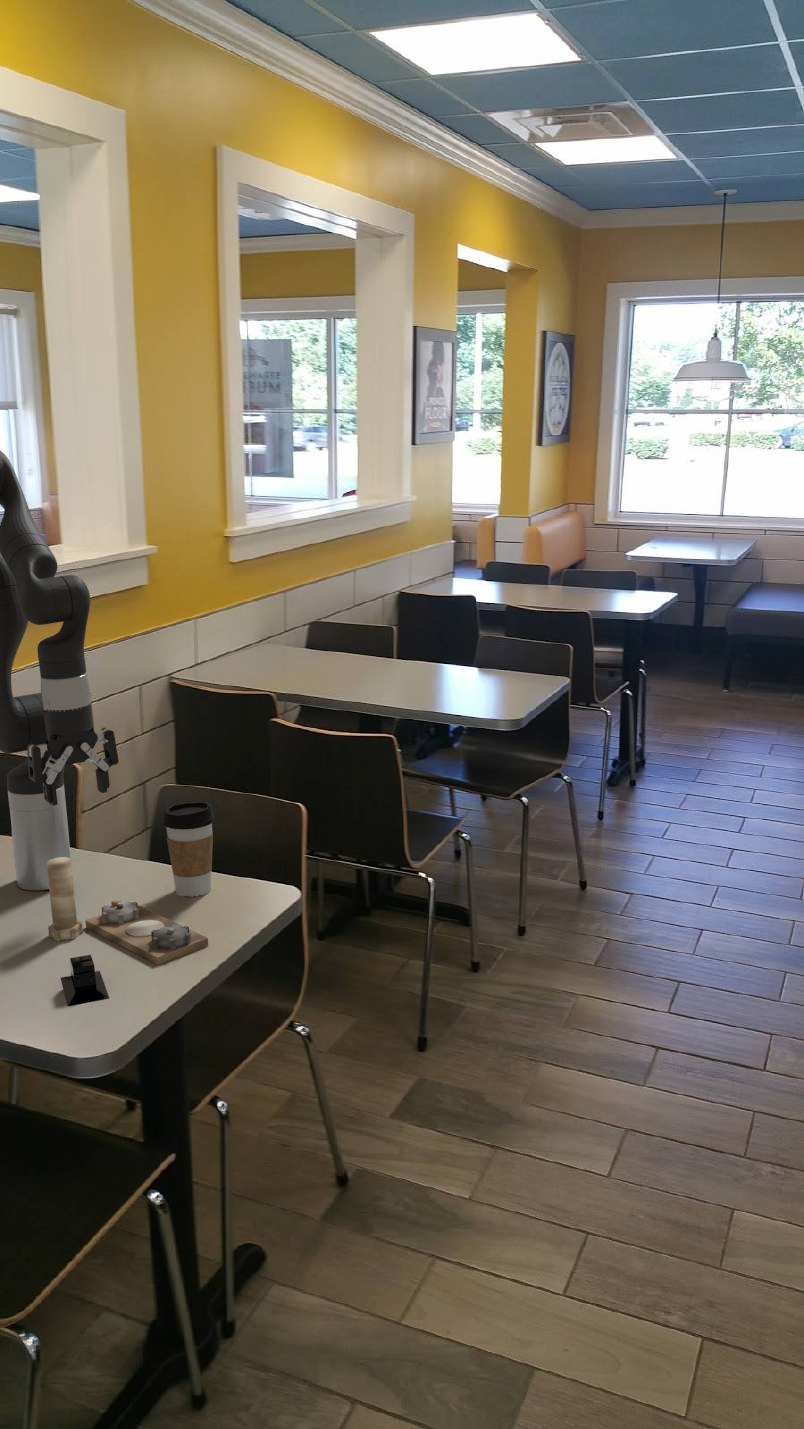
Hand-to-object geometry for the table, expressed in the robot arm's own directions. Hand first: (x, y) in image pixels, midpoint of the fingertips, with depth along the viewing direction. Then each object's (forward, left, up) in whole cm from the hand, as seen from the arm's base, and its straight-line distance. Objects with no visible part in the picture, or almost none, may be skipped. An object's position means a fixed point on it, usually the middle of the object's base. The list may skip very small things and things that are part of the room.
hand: (78, 798), depth 186 cm
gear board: (+19, -1, -18) cm, 26 cm away
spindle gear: (+9, -9, -18) cm, 22 cm away
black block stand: (+28, -17, -19) cm, 37 cm away
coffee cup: (+9, +15, -18) cm, 25 cm away
